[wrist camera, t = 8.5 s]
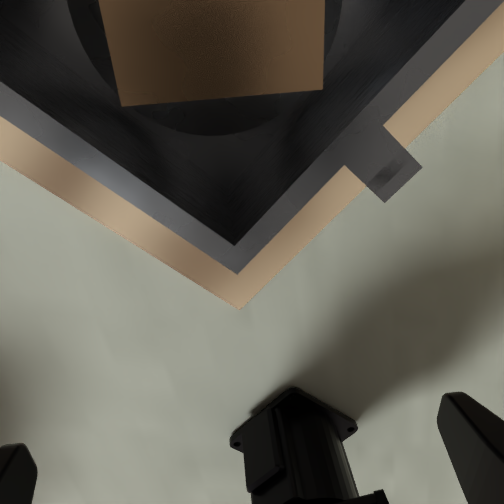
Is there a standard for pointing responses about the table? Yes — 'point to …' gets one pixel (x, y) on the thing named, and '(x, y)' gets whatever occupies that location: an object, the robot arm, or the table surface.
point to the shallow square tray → (239, 144)
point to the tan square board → (297, 229)
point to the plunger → (208, 57)
